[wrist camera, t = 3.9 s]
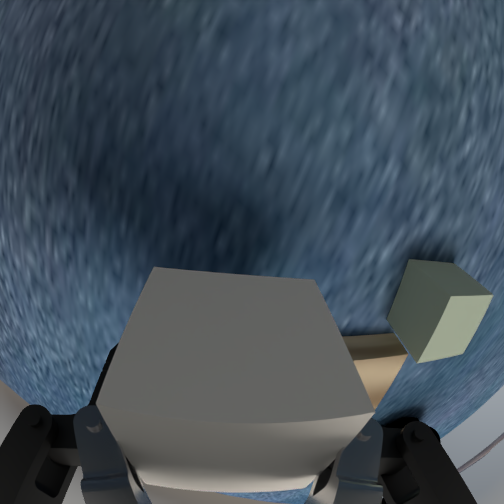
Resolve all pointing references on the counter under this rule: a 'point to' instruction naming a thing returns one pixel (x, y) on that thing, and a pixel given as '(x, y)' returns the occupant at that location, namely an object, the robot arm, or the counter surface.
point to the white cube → (232, 383)
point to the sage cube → (437, 309)
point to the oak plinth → (376, 361)
